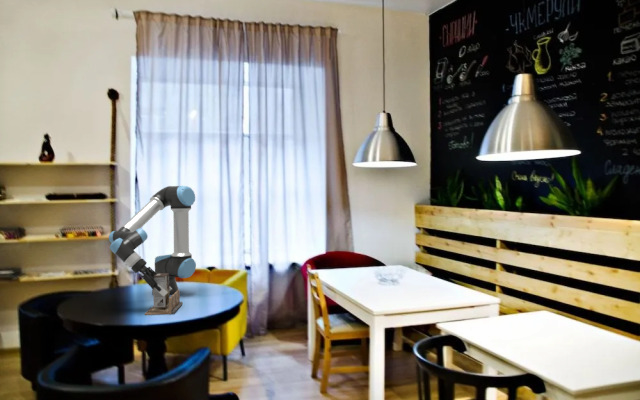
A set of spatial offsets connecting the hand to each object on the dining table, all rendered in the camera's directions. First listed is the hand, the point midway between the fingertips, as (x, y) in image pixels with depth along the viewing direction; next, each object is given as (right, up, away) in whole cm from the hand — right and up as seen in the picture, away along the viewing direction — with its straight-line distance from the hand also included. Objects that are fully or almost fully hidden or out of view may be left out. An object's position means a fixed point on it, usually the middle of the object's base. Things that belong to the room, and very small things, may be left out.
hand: (168, 292), depth 245 cm
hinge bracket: (-2, -9, 0) cm, 9 cm away
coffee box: (-3, -7, 0) cm, 7 cm away
